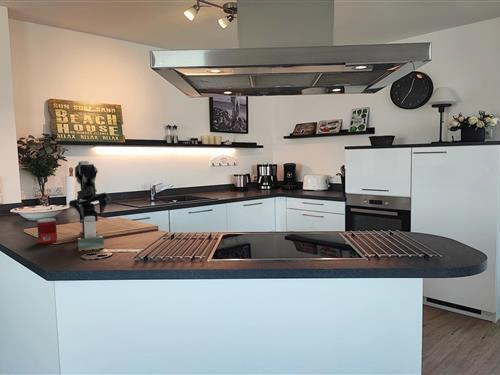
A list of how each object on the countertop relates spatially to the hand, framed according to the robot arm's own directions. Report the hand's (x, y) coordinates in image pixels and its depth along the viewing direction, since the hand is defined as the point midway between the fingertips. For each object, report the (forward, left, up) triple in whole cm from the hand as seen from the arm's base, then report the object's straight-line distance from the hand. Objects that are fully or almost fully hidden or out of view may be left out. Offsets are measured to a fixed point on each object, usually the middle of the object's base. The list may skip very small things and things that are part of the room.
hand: (91, 217), depth 180 cm
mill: (+8, -6, -11) cm, 15 cm away
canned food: (-18, -12, -12) cm, 25 cm away
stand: (+8, -6, -12) cm, 16 cm away
